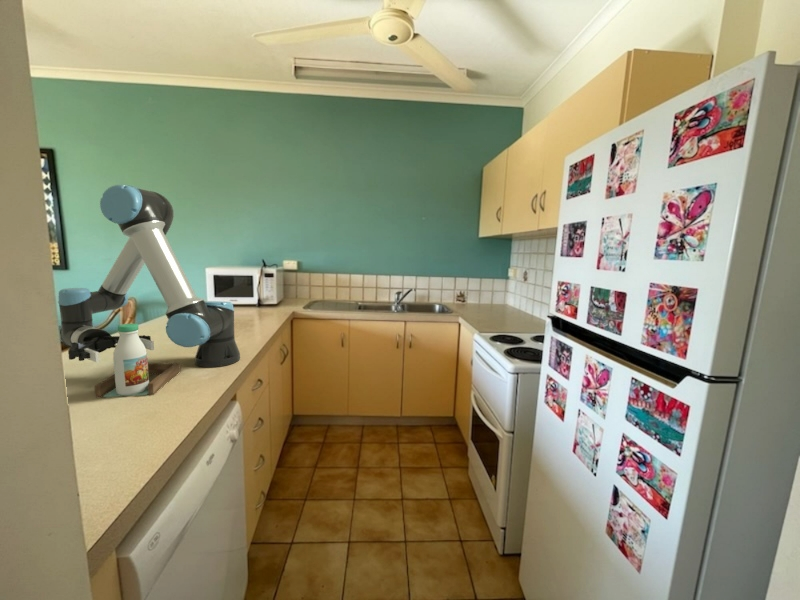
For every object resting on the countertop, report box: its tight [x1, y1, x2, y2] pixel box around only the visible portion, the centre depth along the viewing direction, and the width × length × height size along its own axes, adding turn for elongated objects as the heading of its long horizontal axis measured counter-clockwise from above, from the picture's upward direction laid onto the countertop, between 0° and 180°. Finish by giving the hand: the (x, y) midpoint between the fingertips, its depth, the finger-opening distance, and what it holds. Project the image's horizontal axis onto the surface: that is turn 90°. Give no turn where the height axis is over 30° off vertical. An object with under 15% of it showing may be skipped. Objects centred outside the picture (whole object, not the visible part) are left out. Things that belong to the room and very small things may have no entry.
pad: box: [102, 388, 149, 398], centre depth 100 cm, size 11×7×1 cm, turn 102°
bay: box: [94, 361, 181, 398], centre depth 105 cm, size 14×18×4 cm
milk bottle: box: [113, 323, 150, 395], centre depth 98 cm, size 8×8×20 cm
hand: (126, 351), depth 98 cm, fingers open, 13 cm apart
